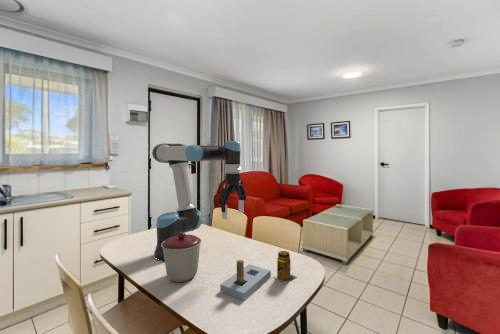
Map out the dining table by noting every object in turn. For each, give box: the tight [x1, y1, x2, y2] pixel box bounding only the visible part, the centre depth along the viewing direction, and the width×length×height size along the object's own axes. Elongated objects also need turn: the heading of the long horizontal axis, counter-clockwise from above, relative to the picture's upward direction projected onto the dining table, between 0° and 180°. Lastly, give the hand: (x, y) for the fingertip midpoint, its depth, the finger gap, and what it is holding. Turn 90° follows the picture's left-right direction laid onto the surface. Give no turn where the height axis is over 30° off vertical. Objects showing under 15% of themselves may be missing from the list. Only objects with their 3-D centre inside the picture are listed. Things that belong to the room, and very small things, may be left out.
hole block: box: [219, 264, 272, 302], centre depth 108 cm, size 12×22×3 cm, turn 147°
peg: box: [236, 259, 245, 286], centre depth 104 cm, size 3×3×12 cm
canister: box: [161, 232, 202, 283], centre depth 114 cm, size 18×18×21 cm
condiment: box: [273, 250, 297, 285], centre depth 113 cm, size 7×8×12 cm
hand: (233, 215), depth 122 cm, fingers open, 13 cm apart
